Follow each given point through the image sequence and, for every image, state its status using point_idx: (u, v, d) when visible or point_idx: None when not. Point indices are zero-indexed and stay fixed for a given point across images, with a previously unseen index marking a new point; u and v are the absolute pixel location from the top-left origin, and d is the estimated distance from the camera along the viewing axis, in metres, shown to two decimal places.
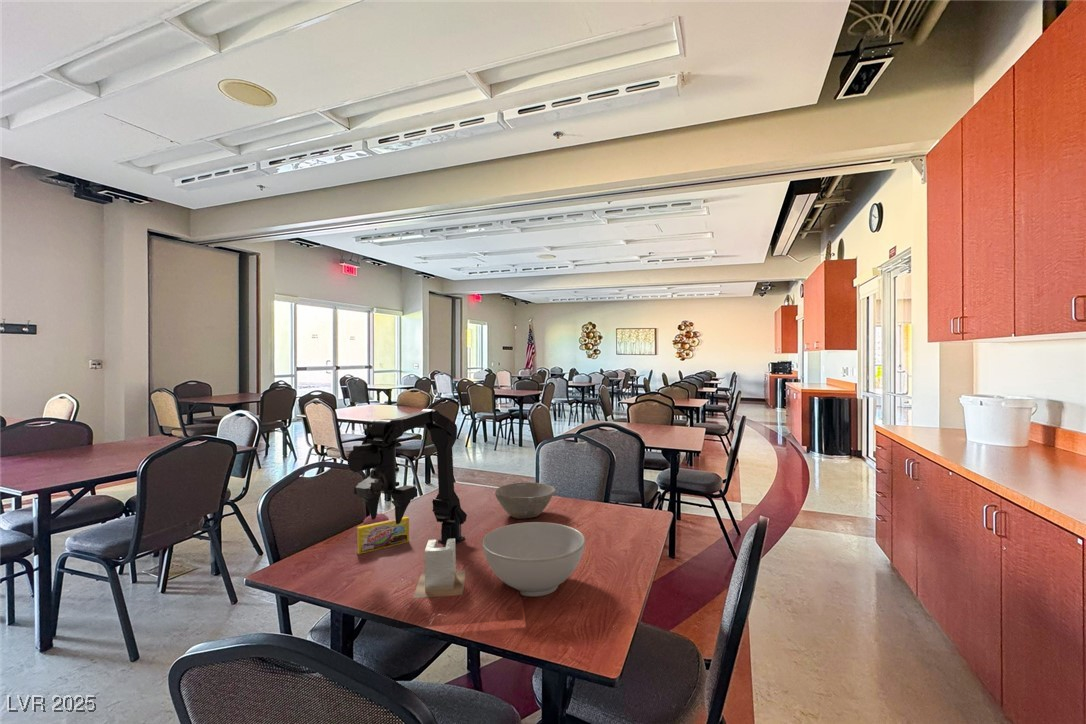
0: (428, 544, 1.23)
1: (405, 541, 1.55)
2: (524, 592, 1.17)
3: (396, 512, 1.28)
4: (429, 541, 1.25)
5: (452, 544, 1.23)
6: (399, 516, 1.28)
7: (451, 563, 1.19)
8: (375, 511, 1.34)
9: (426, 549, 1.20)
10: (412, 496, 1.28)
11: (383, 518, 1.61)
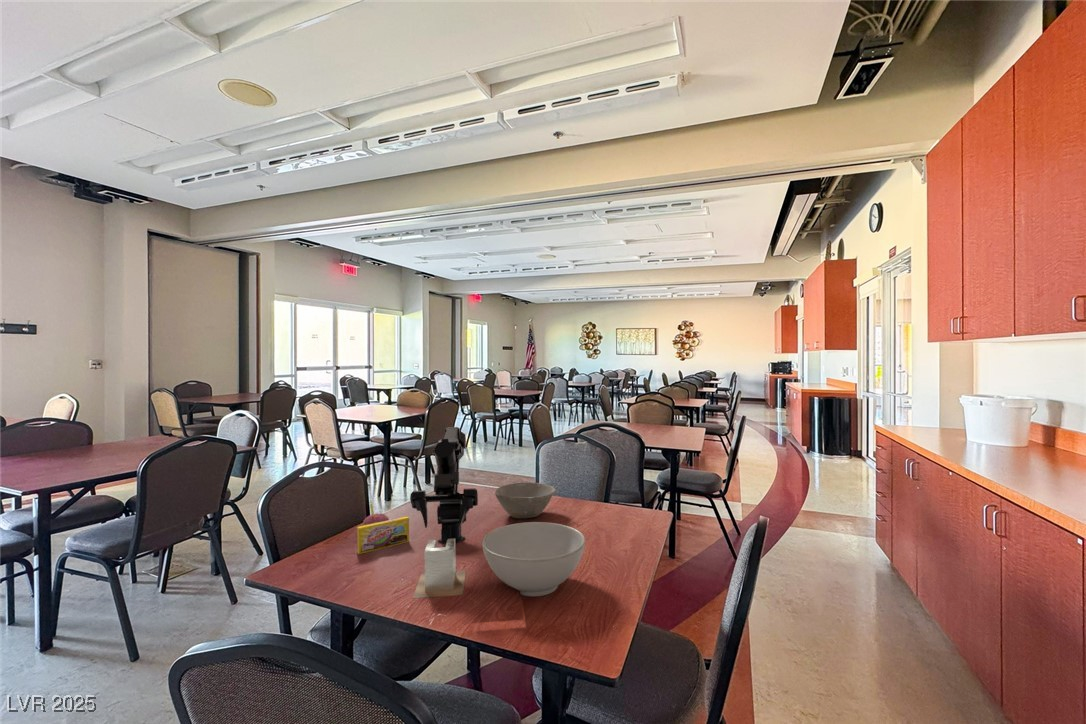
0: (428, 544, 1.23)
1: (405, 541, 1.55)
2: (524, 592, 1.17)
3: (461, 512, 1.33)
4: (429, 541, 1.25)
5: (452, 544, 1.23)
6: (463, 517, 1.32)
7: (451, 563, 1.19)
8: None
9: (426, 549, 1.20)
10: (477, 500, 1.37)
11: (383, 518, 1.61)
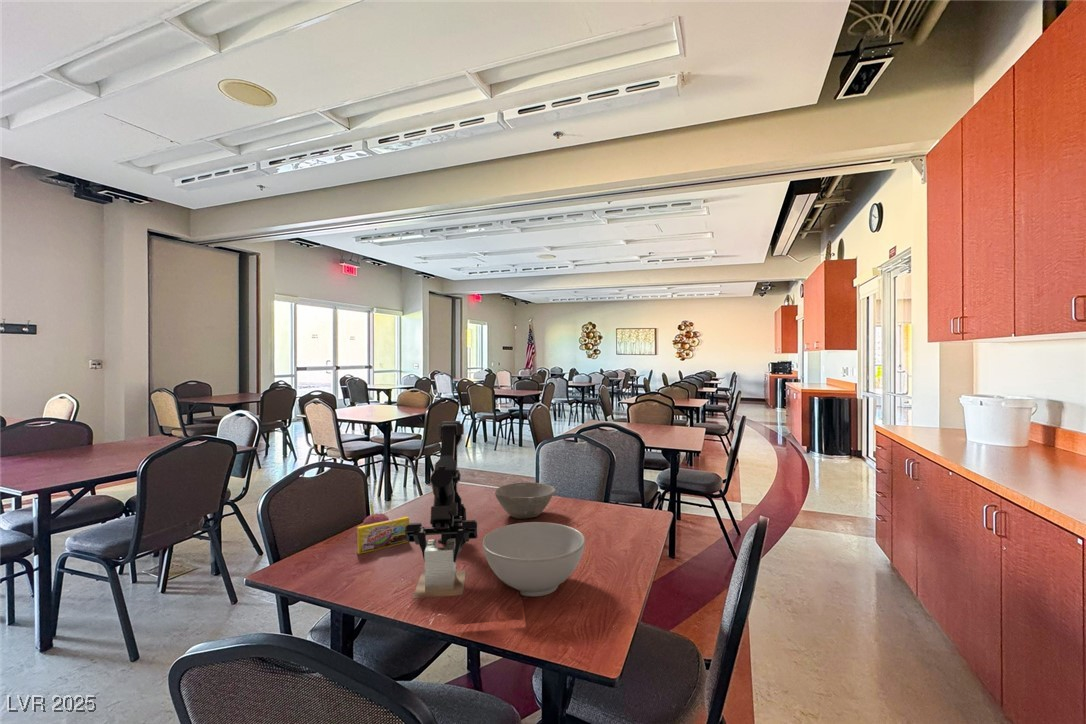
0: (428, 544, 1.23)
1: (405, 541, 1.55)
2: (524, 592, 1.17)
3: (456, 546, 1.23)
4: (429, 541, 1.25)
5: (452, 544, 1.23)
6: (458, 552, 1.23)
7: (451, 563, 1.19)
8: None
9: (426, 549, 1.20)
10: (477, 532, 1.28)
11: (383, 518, 1.61)
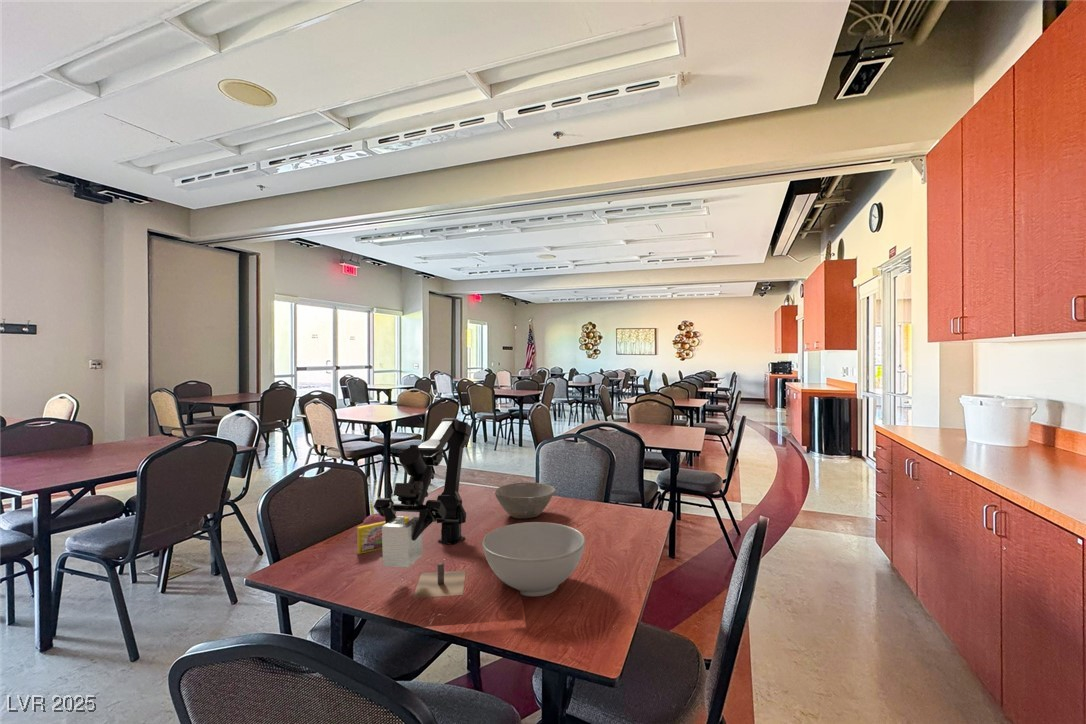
0: (392, 520, 1.24)
1: None
2: (524, 592, 1.17)
3: (417, 525, 1.23)
4: (396, 517, 1.26)
5: (413, 522, 1.22)
6: (418, 531, 1.22)
7: (406, 541, 1.19)
8: None
9: (385, 524, 1.21)
10: (443, 513, 1.26)
11: (383, 518, 1.61)
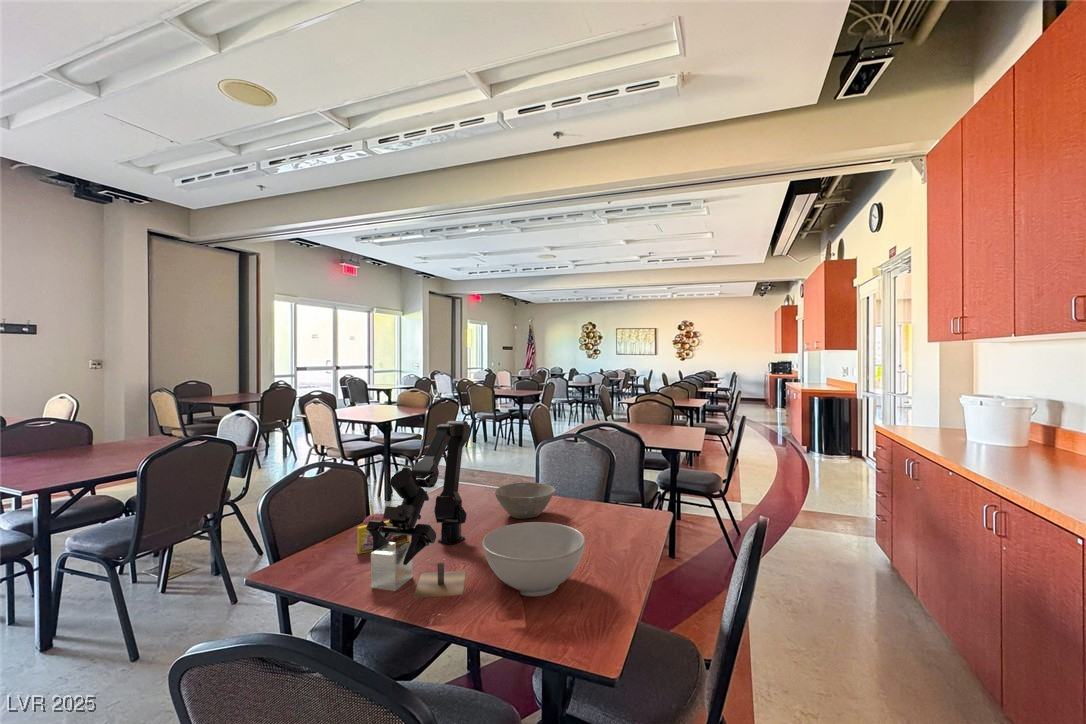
0: (383, 546, 1.25)
1: (405, 541, 1.55)
2: (524, 592, 1.17)
3: (409, 549, 1.23)
4: (387, 543, 1.27)
5: (401, 550, 1.23)
6: (409, 556, 1.22)
7: (393, 569, 1.19)
8: None
9: (375, 551, 1.22)
10: (432, 537, 1.26)
11: None
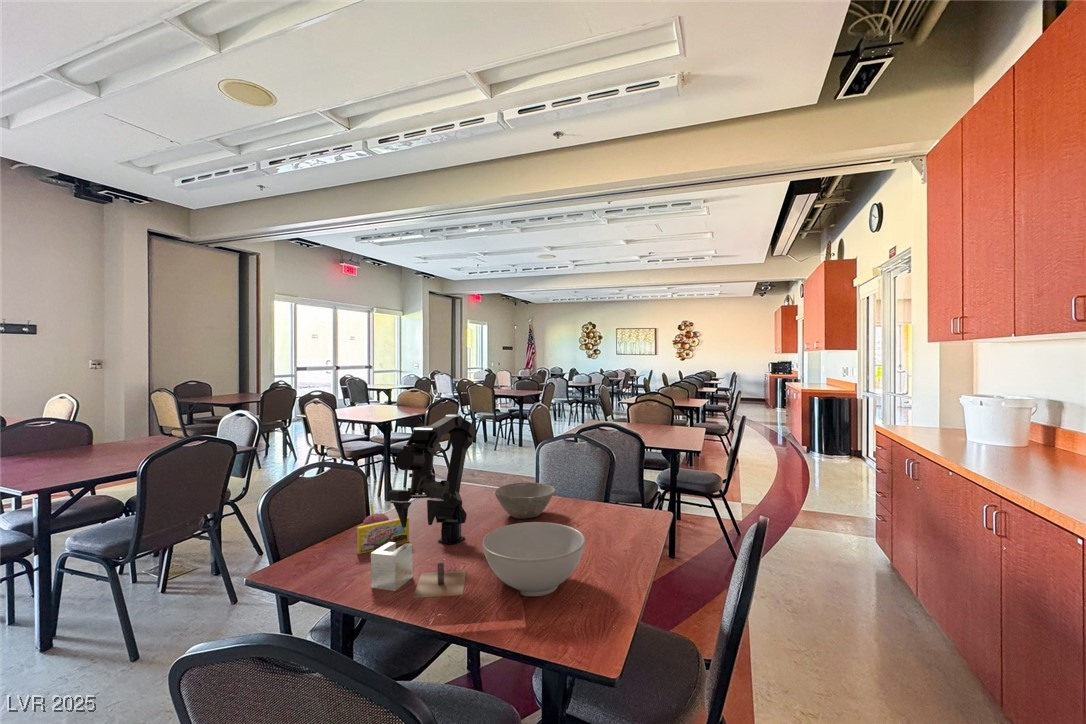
0: (383, 546, 1.25)
1: (405, 541, 1.55)
2: (524, 592, 1.17)
3: (434, 513, 1.40)
4: (387, 543, 1.27)
5: (401, 550, 1.23)
6: None
7: (393, 569, 1.19)
8: None
9: (375, 551, 1.22)
10: None
11: (383, 518, 1.61)
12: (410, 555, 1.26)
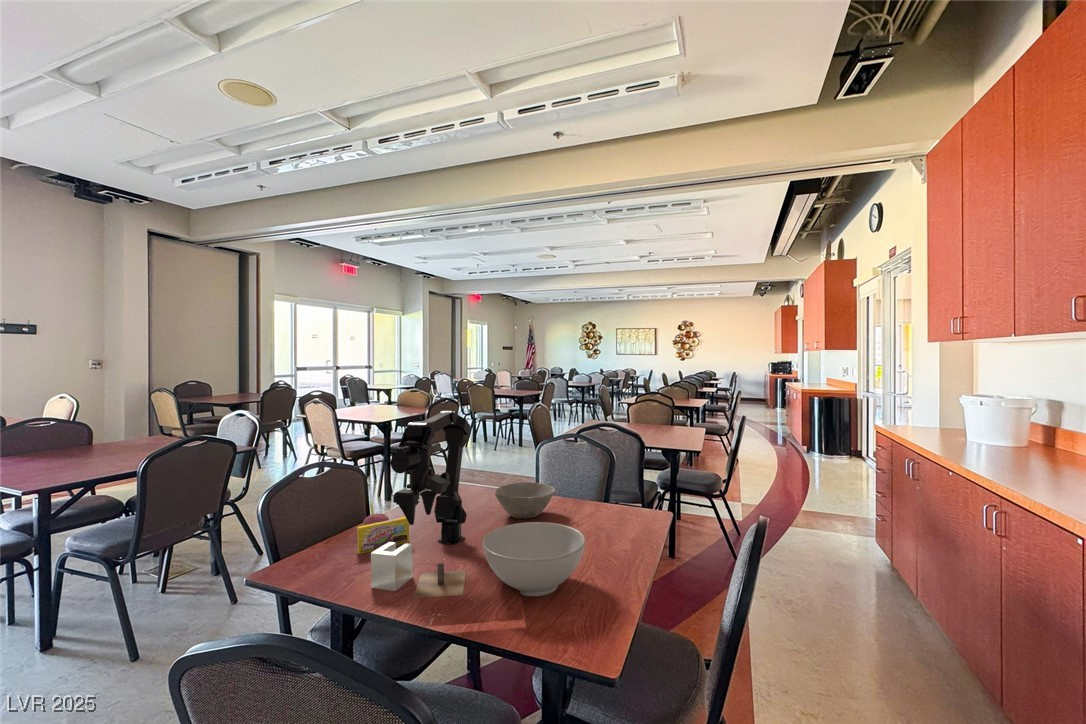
0: (383, 546, 1.25)
1: (405, 541, 1.55)
2: (524, 592, 1.17)
3: (431, 503, 1.42)
4: (387, 543, 1.27)
5: (401, 550, 1.23)
6: None
7: (393, 569, 1.19)
8: None
9: (375, 551, 1.22)
10: None
11: (383, 518, 1.61)
12: (410, 555, 1.26)
